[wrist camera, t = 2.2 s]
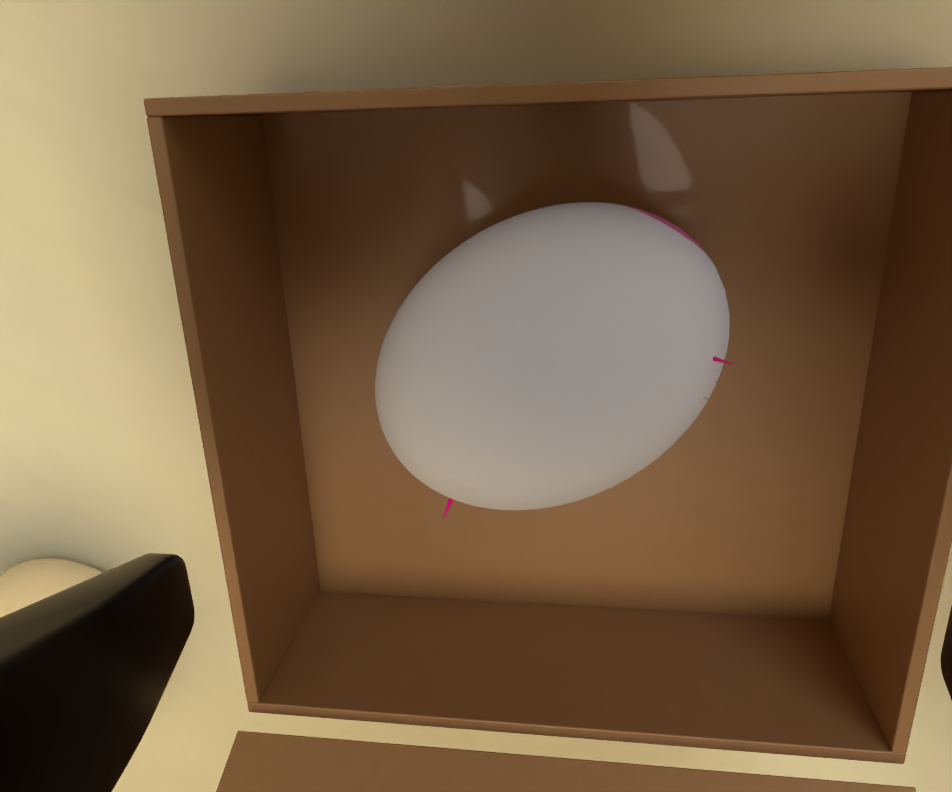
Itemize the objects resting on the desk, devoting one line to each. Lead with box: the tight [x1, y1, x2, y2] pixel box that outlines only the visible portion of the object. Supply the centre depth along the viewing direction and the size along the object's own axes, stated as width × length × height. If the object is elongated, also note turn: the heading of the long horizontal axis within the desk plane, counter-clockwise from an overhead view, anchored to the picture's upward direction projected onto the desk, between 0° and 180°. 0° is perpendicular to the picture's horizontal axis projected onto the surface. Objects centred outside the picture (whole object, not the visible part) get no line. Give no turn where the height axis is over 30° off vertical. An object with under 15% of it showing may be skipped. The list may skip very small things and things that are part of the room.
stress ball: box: [375, 202, 735, 521], centre depth 17 cm, size 8×8×7 cm
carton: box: [144, 67, 952, 764], centre depth 17 cm, size 15×14×5 cm
